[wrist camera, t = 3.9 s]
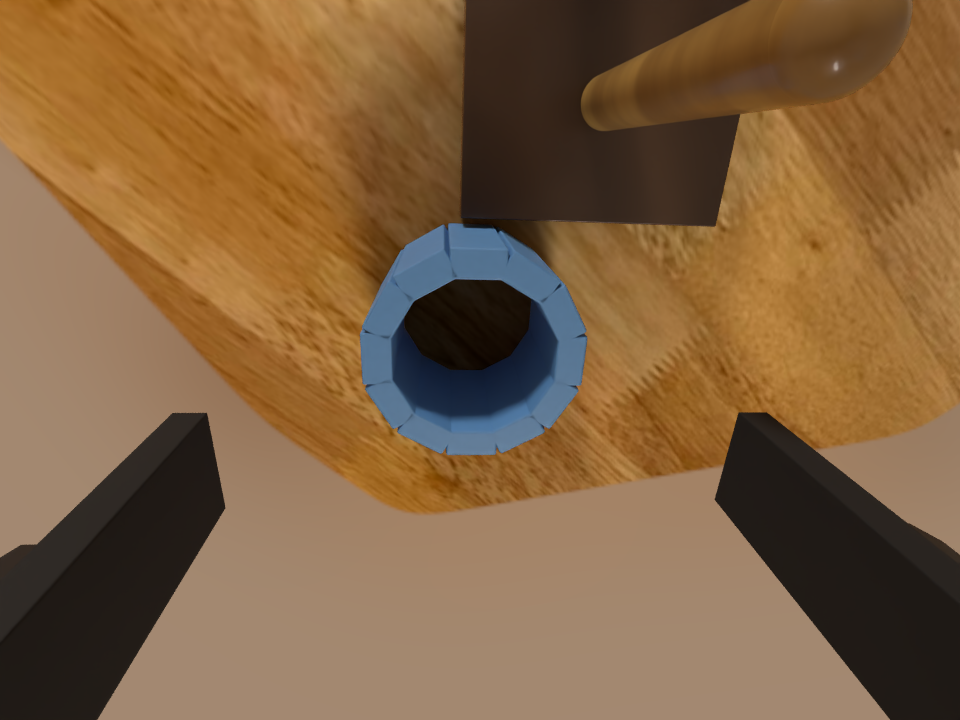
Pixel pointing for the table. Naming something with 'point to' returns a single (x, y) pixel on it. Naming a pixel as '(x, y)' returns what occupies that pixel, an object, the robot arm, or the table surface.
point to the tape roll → (472, 393)
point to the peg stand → (644, 97)
